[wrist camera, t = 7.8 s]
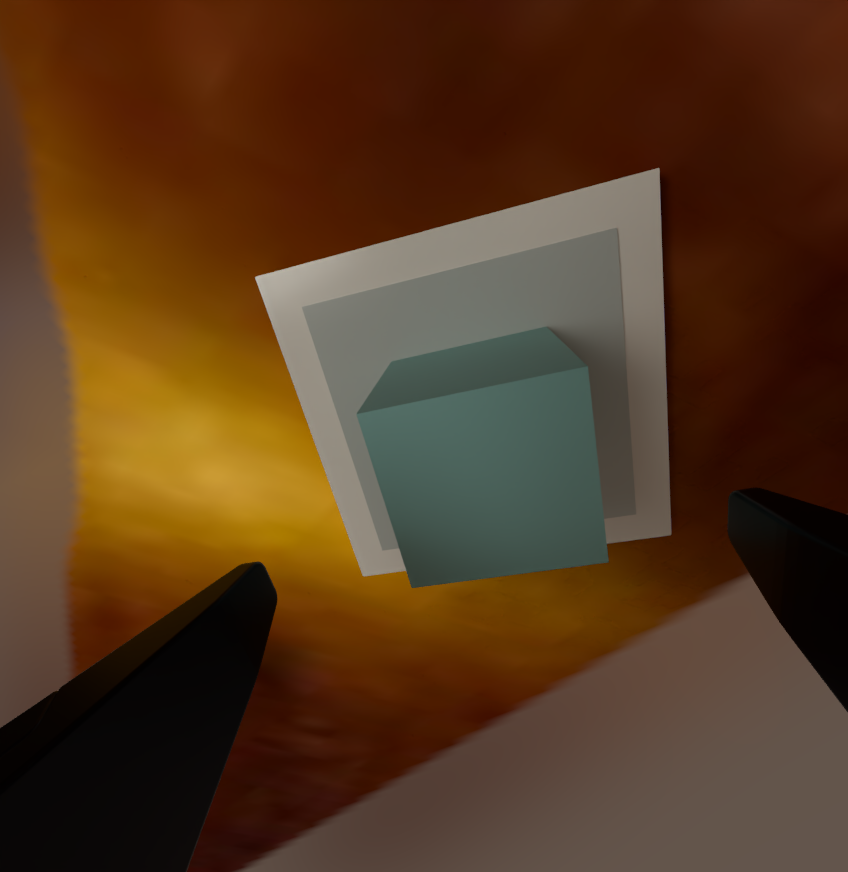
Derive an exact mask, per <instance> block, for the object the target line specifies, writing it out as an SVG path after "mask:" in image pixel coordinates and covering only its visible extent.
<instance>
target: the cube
mask: <svg viewBox="0 0 848 872" xmlns="http://www.w3.org/2000/svg"><path fill="white" fill-rule="evenodd" d="M356 415H357V418H358V421H359V424H360V428H361V431H362V434H363V437H364V440H365V443H366V446H367V449H368V453H369V456H370V459H371V462H372V465H373V468H374V471H375V474H376V478H377V481H378V484H379V487H380V490H381V493H382V496H383V499H384V502H385V506H386V509H387V512H388V515H389V518H390V521H391V524H392V527H393V531H394V534H395V537H396V540H397V543H398V546H399V549H400V552H401V556H402V559H403V562H404V565H405V568H406V571H407V574H408V577H409V581H410V584H411V587H412V588H416V587H423V586H431V585H439V584H446V583H454V582H462V581H469V580H477V579H485V578H492V577H500V576H508V575H515V574H523V573H530V572H538V571H546V570H553V569H561V568H569V567H576V566H584V565H592V564H599V563H607V562H609V561H608V551H607V542H606V533H605V523H604V514H603V504H602V495H601V485H600V476H599V466H598V457H597V448H596V438H595V429H594V419H593V410H592V400H591V391H590V382H589V372H588V366H587V365H586V364H585V363H584V362H583V361H582V360H581V359H580V358H579V357H578V356H577V355H576V354H575V353H574V352H573V351H571V350H570V349H569V348H568V347H567V346H566V345H565V344H564V343H563V342H562V341H561V340H560V339H559V338H558V337H557V336H556V335H555V334H554V333H553V332H552V331H551V330H549V329H548V328H547V327H542V328H537V329H533V330H528V331H524V332H519V333H515V334H511V335H506V336H502V337H497V338H493V339H488V340H484V341H480V342H475V343H471V344H466V345H462V346H457V347H453V348H449V349H444V350H440V351H435V352H431V353H426V354H422V355H418V356H413V357H409V358H404V359H400V360H395V361H391V363H390V364H389V366H388V367H387V369H386V370H385V372H384V373H383V375H382V376H381V378H380V379H379V381H378V382H377V384H376V385H375V387H374V388H373V390H372V391H371V393H370V394H369V396H368V397H367V399H366V400H365V402H364V403H363V405H362V406H361V408H360V409H359V411H358V412H357V414H356Z"/></svg>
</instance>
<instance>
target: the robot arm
mask: <svg viewBox="0 0 848 872" xmlns="http://www.w3.org/2000/svg"><path fill="white" fill-rule="evenodd" d="M728 535H729V539H730V541H731V543H732V545H733V547H734V549H735V550H736V552H737V554H738V555H739V557H740V559H741V560H742V562H743V563H744V565H745V567H746V568H747V570H748V572H749V573H750V575H751V577H752V578H753V580H754V582H755V583H756V585H757V586H758V588H759V590H760V591H761V593H762V595H763V596H764V598H765V600H766V601H767V603H768V605H769V606H770V608H771V609H772V611H773V613H774V614H775V616H776V617H777V619H778V620H779V622H780V623H781V625H782V626H783V627H784V628H785V630H786V632H787V633H788V634H789V636H790V637H791V638H792V640H793V641H794V642H795V644H796V645H797V646H798V648H799V649H800V650H801V651H802V653H803V654H804V655H805V657H806V658H807V659H808V661H809V662H810V663H811V665H812V666H813V667H814V669H815V670H816V671H817V673H818V674H819V675H820V677H821V678H822V679H823V680H824V682H825V683H826V684H827V686H828V687H829V688H830V690H831V691H832V692H833V693H834V695H835V696H836V698H837V699H838V700H839V702H840V703H841V704H842V705H843V707H844V708H845V709H846V711H847V712H848V515H846V514H843V513H840V512H837V511H833V510H830V509H827V508H824V507H820V506H817V505H814V504H811V503H807V502H804V501H801V500H797V499H794V498H791V497H788V496H784V495H781V494H778V493H775V492H771V491H768V490H765V489H762V488H749V489H742V490H736V491H733V492H732V493H731V494H730V496H729V500H728ZM276 605H277V593H276V590H275V588H274V585H273V583H272V581H271V579H270V577H269V575H268V572H267V570H266V568H265V566H264V565H263V564H262V563H261V562H251V563H244V564H241V565H239V566H237V567H236V568H234V569H233V570H232V571H230V572H229V573H227V574H226V575H224V576H223V577H221V578H220V579H218V580H217V581H215V582H214V583H212V584H211V585H210V586H208V587H207V588H205V589H204V590H202V591H201V592H199V593H198V594H196V595H195V596H193V597H192V598H191V599H189V600H188V601H186V602H185V603H183V604H182V605H180V606H179V607H177V608H176V609H174V610H173V611H172V612H170V613H169V614H167V615H166V616H164V617H163V618H161V619H160V620H158V621H157V622H155V623H154V624H152V625H151V626H150V627H148V628H147V629H145V630H144V631H142V632H141V633H139V634H138V635H136V636H135V637H133V638H132V639H131V640H129V641H128V642H126V643H125V644H123V645H122V646H120V647H119V648H117V649H116V650H114V651H113V652H112V653H110V654H109V655H107V656H106V657H104V658H103V659H101V660H100V661H98V662H97V663H95V664H94V665H93V666H91V667H90V668H88V669H87V670H85V671H84V672H82V673H81V674H79V675H78V676H76V677H75V678H73V679H72V680H71V681H69V682H68V683H66V684H65V685H63V686H62V687H61V688H60V689H59V691H55V692H53V693H51V694H50V695H48V696H47V697H46V698H44V699H43V700H41V701H40V702H38V703H37V704H35V705H34V706H33V707H31V708H30V709H28V710H26V711H25V712H24V713H22V714H21V715H19V716H17V717H16V718H14V719H13V720H12V721H10V722H9V723H7V724H6V725H4V726H3V727H1V728H0V872H186V871H187V869H188V866H189V863H190V860H191V858H192V855H193V852H194V849H195V847H196V844H197V841H198V838H199V836H200V833H201V830H202V827H203V825H204V822H205V819H206V816H207V814H208V811H209V808H210V806H211V803H212V800H213V797H214V795H215V792H216V789H217V786H218V784H219V781H220V778H221V775H222V773H223V770H224V767H225V764H226V762H227V759H228V756H229V753H230V751H231V748H232V745H233V742H234V740H235V737H236V734H237V732H238V729H239V726H240V723H241V721H242V718H243V715H244V712H245V710H246V707H247V704H248V701H249V699H250V696H251V693H252V690H253V688H254V685H255V682H256V679H257V676H258V673H259V669H260V666H261V662H262V659H263V655H264V651H265V647H266V643H267V639H268V636H269V632H270V628H271V624H272V620H273V616H274V613H275V609H276Z"/></svg>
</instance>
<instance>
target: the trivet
mask: <svg viewBox="0 0 848 872" xmlns="http://www.w3.org/2000/svg"><path fill="white" fill-rule="evenodd" d="M255 279H256V281H257V284H258V287H259V290H260V293H261V295H262V298H263V301H264V304H265V306H266V309H267V312H268V315H269V317H270V320H271V323H272V326H273V328H274V331H275V334H276V337H277V340H278V342H279V345H280V348H281V351H282V353H283V356H284V359H285V362H286V364H287V367H288V370H289V373H290V376H291V378H292V381H293V384H294V387H295V389H296V392H297V395H298V398H299V400H300V403H301V406H302V409H303V411H304V414H305V417H306V420H307V423H308V425H309V428H310V431H311V434H312V436H313V439H314V442H315V445H316V447H317V450H318V453H319V456H320V458H321V461H322V464H323V467H324V470H325V472H326V475H327V478H328V481H329V483H330V486H331V489H332V492H333V494H334V497H335V500H336V503H337V506H338V508H339V511H340V514H341V517H342V519H343V522H344V525H345V528H346V530H347V533H348V536H349V539H350V541H351V544H352V547H353V550H354V553H355V555H356V558H357V561H358V564H359V566H360V569H361V572H362V575H363V576H370V575H377V574H385V573H392V572H400V571H406V568H405V565H404V562H403V559H402V556H401V552H400V549H399V546H398V543H397V540H396V537H395V534H394V531H393V527H392V524H391V521H390V518H389V515H388V512H387V509H386V506H385V502H384V499H383V496H382V493H381V490H380V487H379V484H378V481H377V478H376V474H375V471H374V468H373V465H372V462H371V459H370V456H369V453H368V449H367V446H366V443H365V440H364V437H363V434H362V431H361V428H360V424H359V421H358V418H357V415H356V414H357V412H358V411H359V409H360V408H361V406H362V405H363V403H364V402H365V400H366V399H367V397H368V396H369V394H370V393H371V391H372V390H373V388H374V387H375V385H376V384H377V382H378V381H379V379H380V378H381V376H382V375H383V373H384V372H385V370H386V369H387V367H388V366H389V364H390V363H391V361H395V360H400V359H404V358H409V357H413V356H418V355H422V354H426V353H431V352H435V351H440V350H444V349H449V348H453V347H457V346H462V345H466V344H471V343H475V342H480V341H484V340H488V339H493V338H497V337H502V336H506V335H511V334H515V333H519V332H524V331H528V330H533V329H537V328H542V327H547V328H548V329H549V330H551V331H552V332H553V333H554V334H555V335H556V336H557V337H558V338H559V339H560V340H561V341H562V342H563V343H564V344H565V345H566V346H567V347H568V348H569V349H570V350H571V351H573V352H574V353H575V354H576V355H577V356H578V357H579V358H580V359H581V360H582V361H583V362H584V363H585V364H586V365H587V366H588V372H589V382H590V391H591V400H592V410H593V419H594V429H595V438H596V448H597V457H598V466H599V476H600V485H601V495H602V504H603V514H604V523H605V533H606V542H607V544H609V543H616V542H624V541H631V540H639V539H646V538H654V537H661V536H669V535H671V508H670V478H669V447H668V416H667V385H666V355H665V324H664V293H663V263H662V232H661V201H660V170H659V168H657V169H653V170H649V171H646V172H642V173H638V174H635V175H631V176H627V177H623V178H620V179H616V180H612V181H609V182H605V183H601V184H598V185H594V186H590V187H586V188H583V189H579V190H575V191H572V192H568V193H564V194H561V195H557V196H553V197H549V198H546V199H542V200H538V201H535V202H531V203H527V204H524V205H520V206H516V207H512V208H509V209H505V210H501V211H498V212H494V213H490V214H486V215H483V216H479V217H475V218H472V219H468V220H464V221H461V222H457V223H453V224H449V225H446V226H442V227H438V228H435V229H431V230H427V231H424V232H420V233H416V234H412V235H409V236H405V237H401V238H398V239H394V240H390V241H387V242H383V243H379V244H375V245H372V246H368V247H364V248H361V249H357V250H353V251H349V252H346V253H342V254H338V255H335V256H331V257H327V258H324V259H320V260H316V261H312V262H309V263H305V264H301V265H298V266H294V267H290V268H287V269H283V270H279V271H275V272H272V273H268V274H264V275H261V276H257V277H255Z"/></svg>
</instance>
